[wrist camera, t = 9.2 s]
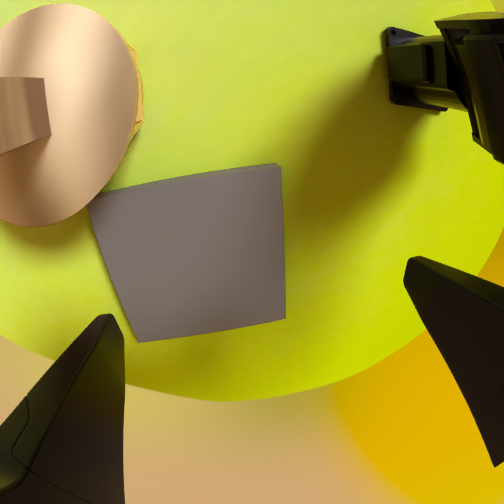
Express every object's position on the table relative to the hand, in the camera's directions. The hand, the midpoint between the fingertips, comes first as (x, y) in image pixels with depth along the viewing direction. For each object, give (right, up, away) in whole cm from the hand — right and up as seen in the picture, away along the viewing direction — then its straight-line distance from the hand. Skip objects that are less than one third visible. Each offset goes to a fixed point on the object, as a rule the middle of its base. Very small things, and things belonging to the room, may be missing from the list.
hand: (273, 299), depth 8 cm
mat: (-5, +1, +14) cm, 15 cm away
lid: (-12, +8, +3) cm, 15 cm away
